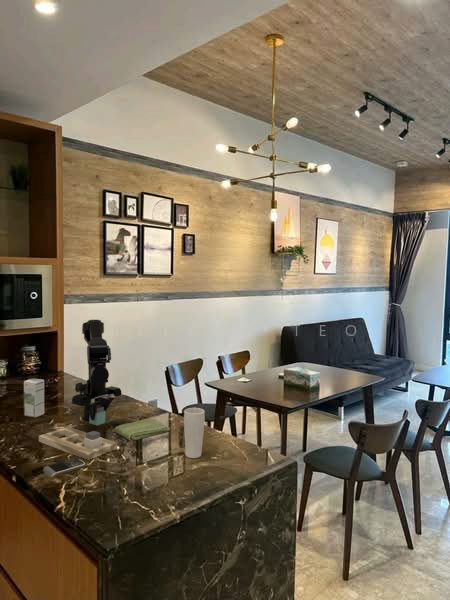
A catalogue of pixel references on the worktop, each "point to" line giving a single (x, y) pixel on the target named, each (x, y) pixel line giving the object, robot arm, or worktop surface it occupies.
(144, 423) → the washcloth
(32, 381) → the syrup box
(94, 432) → the off-white plug
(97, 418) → the teal plug
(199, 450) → the drinking glass
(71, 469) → the cell phone
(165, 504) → the worktop surface
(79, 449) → the wooden grid tray
